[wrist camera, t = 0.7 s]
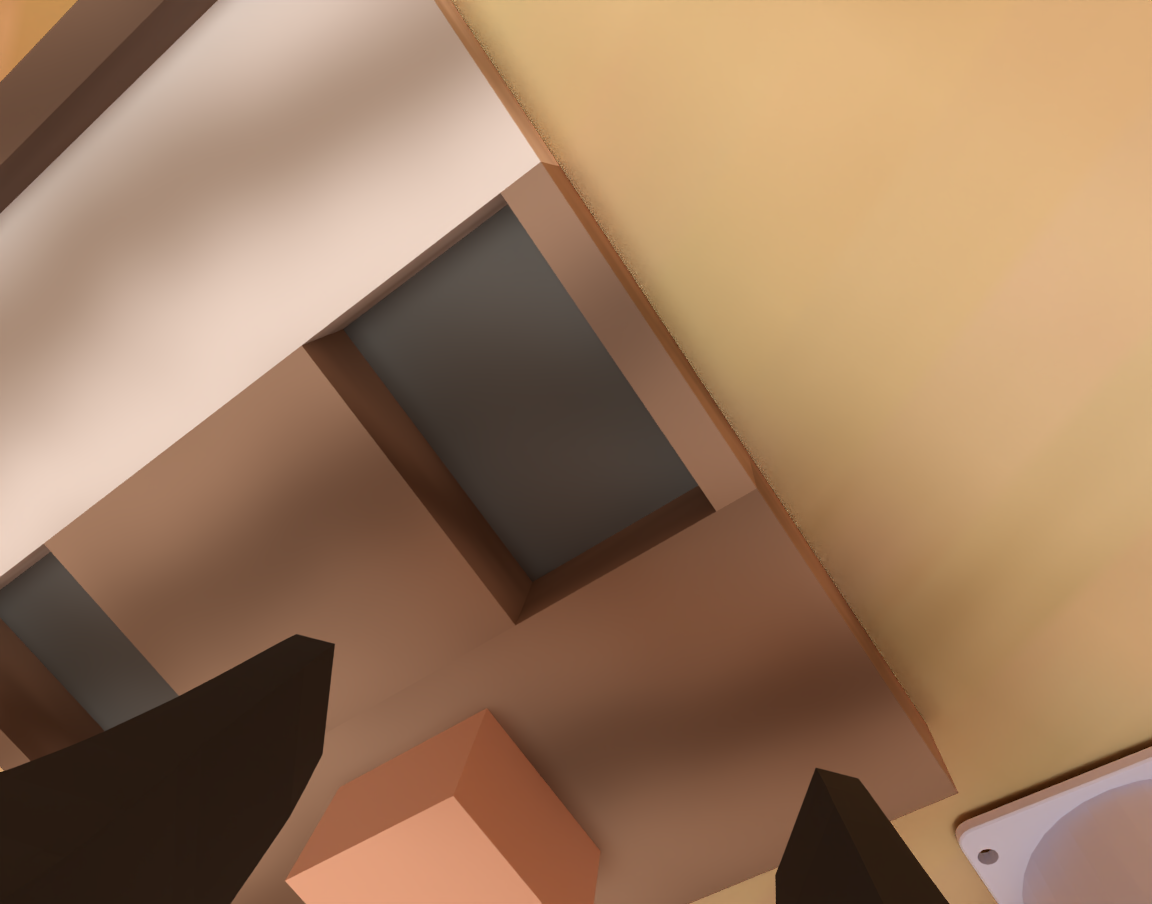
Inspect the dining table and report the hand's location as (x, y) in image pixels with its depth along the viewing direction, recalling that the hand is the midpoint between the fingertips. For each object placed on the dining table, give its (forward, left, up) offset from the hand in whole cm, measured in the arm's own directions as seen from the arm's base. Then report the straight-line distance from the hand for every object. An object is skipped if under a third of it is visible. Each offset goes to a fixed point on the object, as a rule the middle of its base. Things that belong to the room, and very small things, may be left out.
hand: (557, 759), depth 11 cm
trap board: (+2, +7, -9) cm, 12 cm away
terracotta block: (-4, +7, -7) cm, 11 cm away
